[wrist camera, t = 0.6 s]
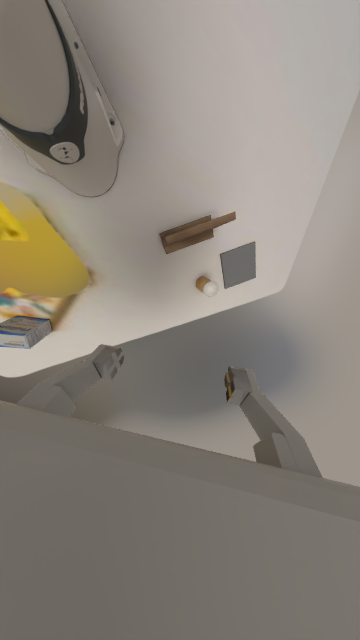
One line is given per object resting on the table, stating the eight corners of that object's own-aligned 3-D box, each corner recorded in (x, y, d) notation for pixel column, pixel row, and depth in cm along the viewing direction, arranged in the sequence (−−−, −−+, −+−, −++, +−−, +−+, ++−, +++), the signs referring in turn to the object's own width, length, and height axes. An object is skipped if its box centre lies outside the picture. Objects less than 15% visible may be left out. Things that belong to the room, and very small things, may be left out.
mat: (220, 254, 39) (221, 254, 38) (253, 241, 39) (255, 241, 38) (224, 288, 44) (225, 288, 43) (254, 277, 44) (255, 277, 44)
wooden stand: (159, 233, 34) (162, 224, 23) (209, 215, 34) (234, 198, 23) (166, 254, 36) (171, 254, 26) (212, 237, 36) (236, 230, 26)
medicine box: (50, 319, 38) (25, 335, 31) (52, 331, 40) (29, 349, 33) (16, 315, 36) (-20, 331, 29) (20, 328, 38) (-13, 347, 31)
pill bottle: (194, 279, 41) (202, 284, 34) (206, 274, 41) (217, 279, 34) (197, 291, 43) (205, 298, 36) (208, 287, 43) (219, 293, 36)
